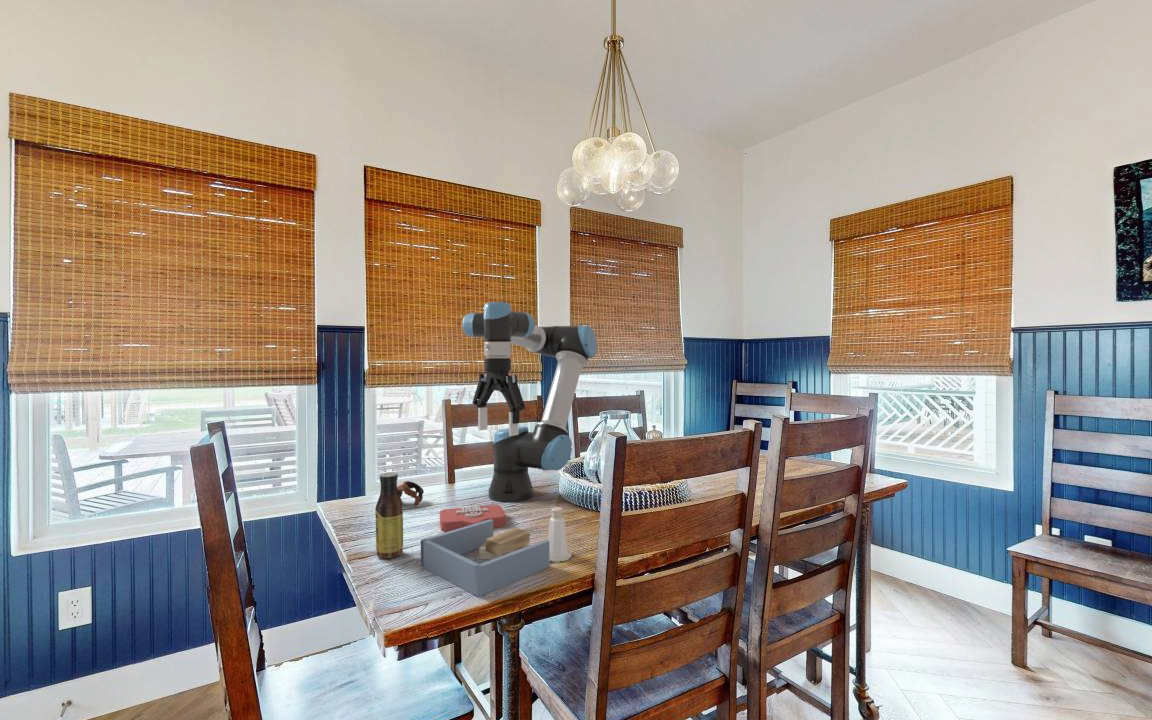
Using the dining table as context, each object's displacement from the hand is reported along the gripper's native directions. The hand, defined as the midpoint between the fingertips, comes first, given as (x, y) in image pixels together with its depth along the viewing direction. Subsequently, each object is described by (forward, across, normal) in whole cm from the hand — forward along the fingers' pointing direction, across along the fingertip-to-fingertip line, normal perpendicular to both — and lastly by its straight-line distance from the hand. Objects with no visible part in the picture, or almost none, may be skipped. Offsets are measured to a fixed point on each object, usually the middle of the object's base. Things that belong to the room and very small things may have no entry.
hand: (497, 432), depth 146 cm
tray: (+26, +19, -20) cm, 38 cm away
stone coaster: (+26, +28, -4) cm, 38 cm away
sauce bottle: (+26, -3, -31) cm, 41 cm away
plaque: (+27, -6, -4) cm, 28 cm away
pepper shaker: (+26, +28, -4) cm, 38 cm away
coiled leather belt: (+27, -37, -8) cm, 47 cm away
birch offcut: (+27, +19, -13) cm, 35 cm away
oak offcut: (+24, +19, -13) cm, 33 cm away
